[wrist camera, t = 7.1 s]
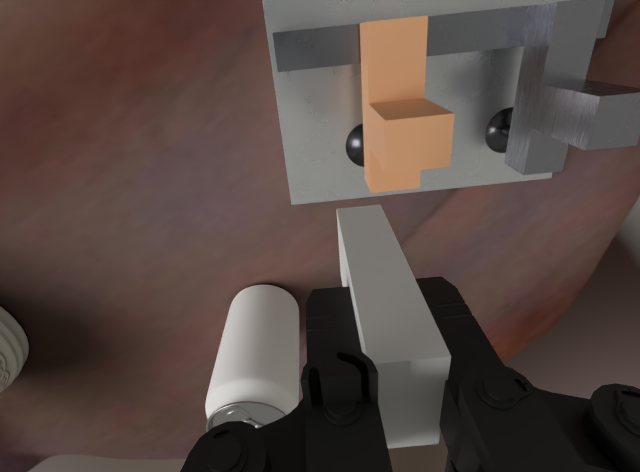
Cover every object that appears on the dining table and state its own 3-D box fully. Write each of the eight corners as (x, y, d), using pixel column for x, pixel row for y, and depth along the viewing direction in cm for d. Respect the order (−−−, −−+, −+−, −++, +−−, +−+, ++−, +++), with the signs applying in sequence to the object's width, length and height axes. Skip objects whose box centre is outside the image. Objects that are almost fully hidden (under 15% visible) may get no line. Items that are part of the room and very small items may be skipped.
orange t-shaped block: (354, 24, 21) (385, 17, 14) (404, 19, 21) (464, 9, 14) (359, 168, 26) (385, 226, 18) (401, 164, 26) (445, 220, 18)
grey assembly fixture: (261, -14, 22) (233, -49, 13) (591, -49, 22) (801, -110, 12) (291, 198, 29) (287, 274, 19) (541, 172, 28) (654, 236, 19)
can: (264, 269, 32) (246, 383, 21) (313, 309, 34) (318, 430, 24) (216, 308, 34) (178, 430, 23) (265, 343, 36) (251, 468, 26)
